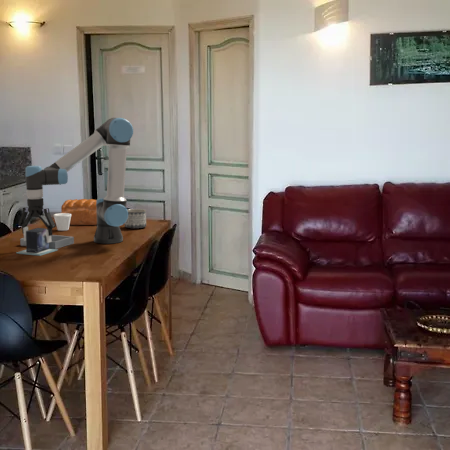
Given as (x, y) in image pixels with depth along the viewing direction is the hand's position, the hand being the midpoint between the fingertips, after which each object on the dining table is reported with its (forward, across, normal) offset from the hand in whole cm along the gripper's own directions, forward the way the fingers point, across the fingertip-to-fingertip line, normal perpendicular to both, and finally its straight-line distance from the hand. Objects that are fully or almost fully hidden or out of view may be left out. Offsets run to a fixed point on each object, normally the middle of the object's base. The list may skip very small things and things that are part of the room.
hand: (37, 241), depth 320 cm
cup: (+6, +25, -55) cm, 60 cm away
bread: (+6, +28, -79) cm, 84 cm away
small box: (+5, 0, 0) cm, 5 cm away
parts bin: (+5, +7, -17) cm, 19 cm away
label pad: (+5, 0, 0) cm, 5 cm away
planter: (+6, -9, -79) cm, 79 cm away
